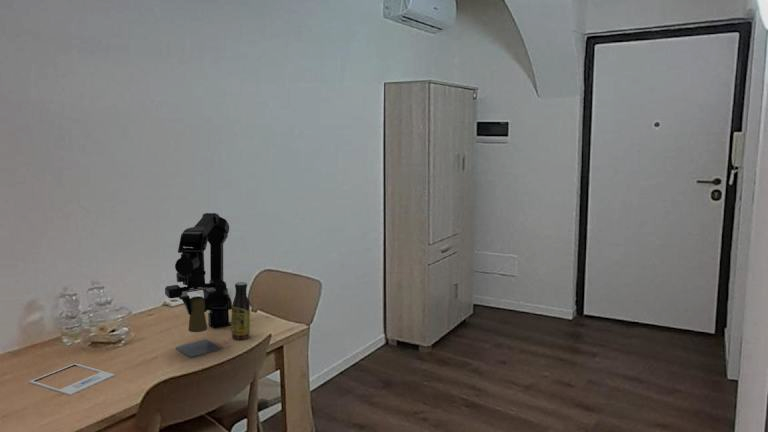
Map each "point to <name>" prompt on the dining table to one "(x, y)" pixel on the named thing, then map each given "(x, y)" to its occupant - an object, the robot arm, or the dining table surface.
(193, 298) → the dark olive bulbous piece
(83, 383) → the photo frame
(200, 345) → the slate coaster
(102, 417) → the dining table surface
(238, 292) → the sauce bottle
